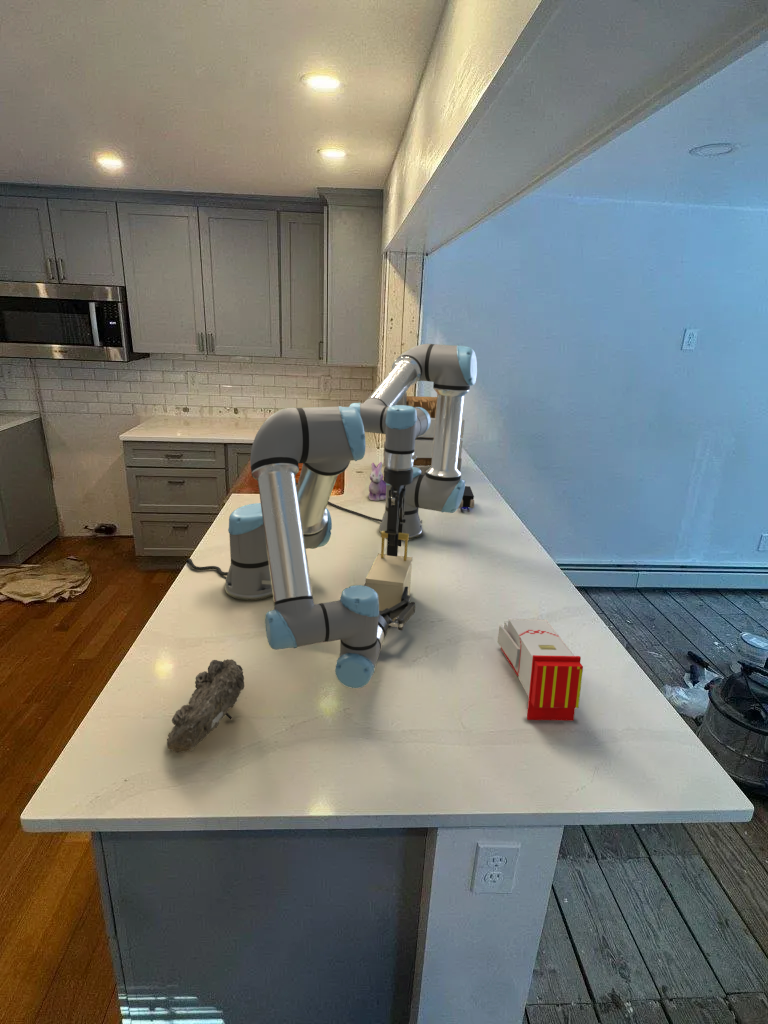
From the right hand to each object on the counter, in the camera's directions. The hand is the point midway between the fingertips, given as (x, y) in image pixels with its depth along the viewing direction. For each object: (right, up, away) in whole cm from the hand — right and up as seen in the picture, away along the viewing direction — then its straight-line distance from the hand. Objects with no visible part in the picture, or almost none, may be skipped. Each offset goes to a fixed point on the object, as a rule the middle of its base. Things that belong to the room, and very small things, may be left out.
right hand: (394, 550), depth 152 cm
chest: (-2, -15, -1) cm, 15 cm away
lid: (-1, -5, -4) cm, 7 cm away
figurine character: (+29, +12, +77) cm, 83 cm away
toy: (+29, -26, -29) cm, 49 cm away
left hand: (-2, -10, -6) cm, 12 cm away
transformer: (+15, +29, +122) cm, 127 cm away
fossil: (-35, -29, -44) cm, 64 cm away
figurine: (-5, +16, +84) cm, 86 cm away
